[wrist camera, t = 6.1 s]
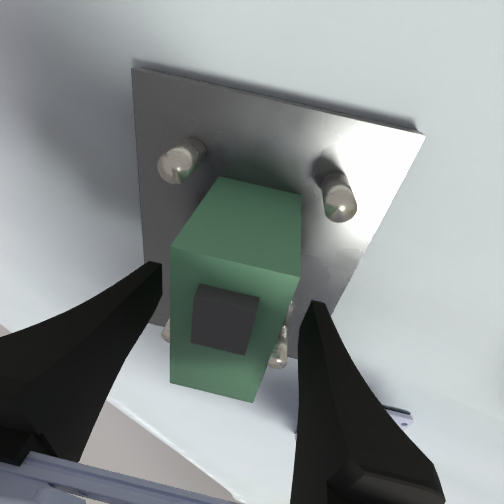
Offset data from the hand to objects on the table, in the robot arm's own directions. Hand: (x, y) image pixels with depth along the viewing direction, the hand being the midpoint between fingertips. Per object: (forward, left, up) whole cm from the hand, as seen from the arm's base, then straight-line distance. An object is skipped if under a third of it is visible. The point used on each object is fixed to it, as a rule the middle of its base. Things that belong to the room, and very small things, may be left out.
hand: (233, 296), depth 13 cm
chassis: (0, 0, -4) cm, 4 cm away
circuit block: (0, 0, -3) cm, 3 cm away
